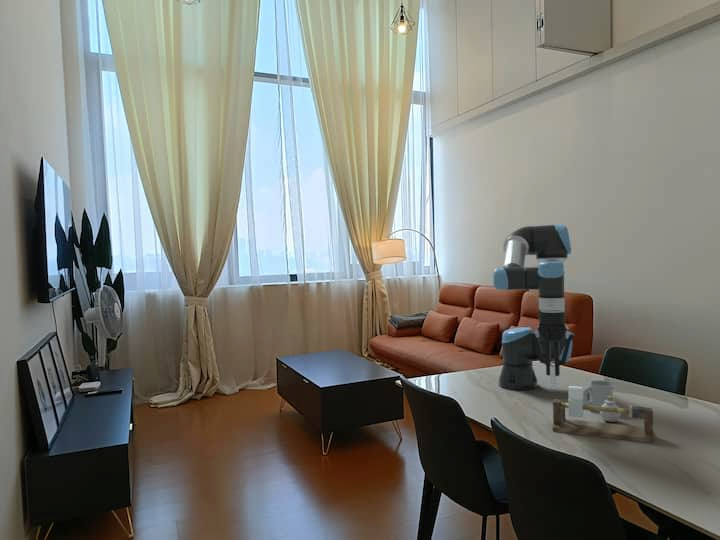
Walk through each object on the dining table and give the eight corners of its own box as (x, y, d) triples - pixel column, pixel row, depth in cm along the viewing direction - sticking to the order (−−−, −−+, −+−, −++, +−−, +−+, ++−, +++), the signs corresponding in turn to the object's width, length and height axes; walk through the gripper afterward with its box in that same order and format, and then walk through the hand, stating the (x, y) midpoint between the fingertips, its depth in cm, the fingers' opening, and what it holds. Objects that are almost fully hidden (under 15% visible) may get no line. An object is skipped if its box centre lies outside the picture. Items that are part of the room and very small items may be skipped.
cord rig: (552, 431, 154) (552, 402, 153) (555, 421, 162) (554, 394, 161) (654, 443, 142) (653, 412, 142) (651, 432, 150) (650, 403, 150)
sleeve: (568, 416, 153) (568, 388, 153) (569, 411, 158) (569, 384, 157) (582, 417, 152) (582, 390, 151) (583, 412, 156) (582, 385, 156)
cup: (616, 412, 169) (616, 385, 168) (586, 412, 170) (585, 386, 169) (608, 405, 176) (607, 380, 175) (578, 405, 177) (578, 380, 176)
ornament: (624, 424, 157) (623, 393, 156) (599, 424, 158) (599, 393, 157) (616, 418, 163) (615, 387, 162) (592, 418, 164) (592, 387, 163)
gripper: (528, 312, 156) (529, 387, 156) (573, 313, 150) (575, 390, 151) (531, 309, 162) (532, 381, 163) (574, 310, 157) (576, 384, 158)
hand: (553, 385), depth 157 cm, fingers closed
